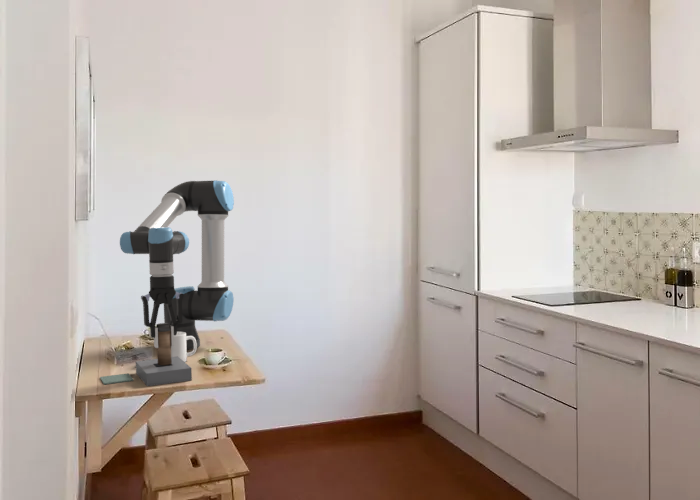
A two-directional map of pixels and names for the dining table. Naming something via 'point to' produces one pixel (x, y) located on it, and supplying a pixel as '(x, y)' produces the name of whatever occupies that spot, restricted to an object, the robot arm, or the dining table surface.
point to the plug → (164, 344)
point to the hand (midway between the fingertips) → (164, 346)
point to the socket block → (163, 371)
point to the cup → (182, 346)
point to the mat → (116, 378)
